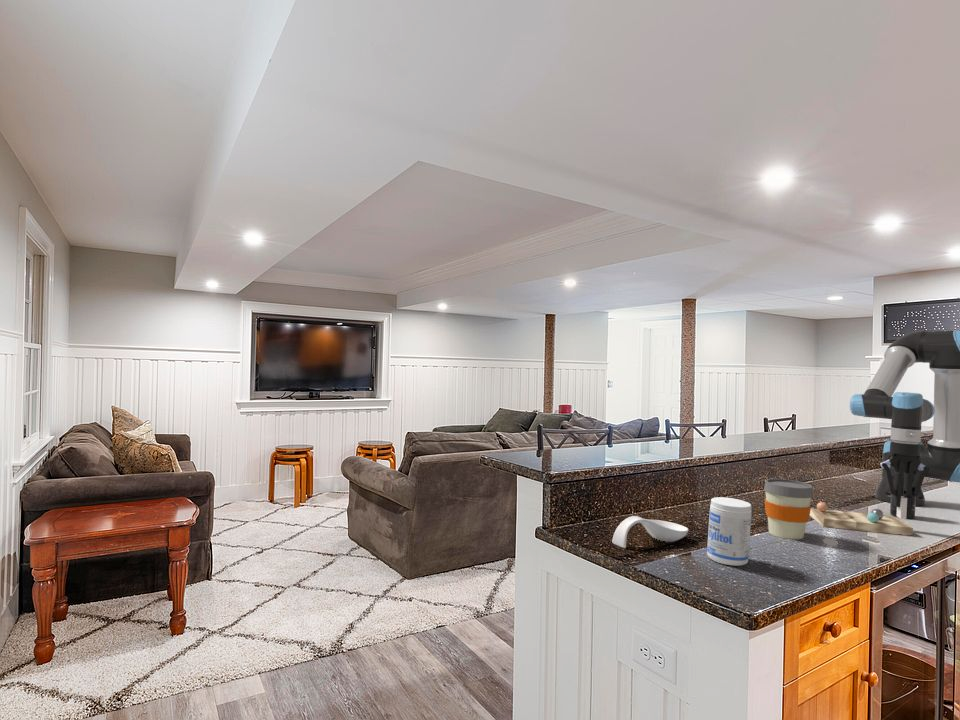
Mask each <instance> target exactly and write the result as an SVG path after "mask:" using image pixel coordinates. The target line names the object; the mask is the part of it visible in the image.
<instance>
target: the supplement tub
mask: <svg viewBox="0 0 960 720" xmlns="http://www.w3.org/2000/svg"><path fill="white" fill-rule="evenodd" d="M752 511H753V510H752V504H751V503H750V502H747V501H745V500H741V499H737V498H733V497H723V496H719V497H718V496H716V497H711V500H710V507H709V517H708V518H709V519H708V531H707V543H706V544H707V546H706V549H707V550H706V555H707V557H708V558H709V559H710V560H712V561H714V562H716V563H719V564H721V565H728V566H731V567H733V566H734V567H736V566H737V567H742V566H745V565H746V564H747V563H748V562H749V558H750V557H749V555H750V542H751V541H750V539H751V527H752V526H751V525H752Z"/></svg>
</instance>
